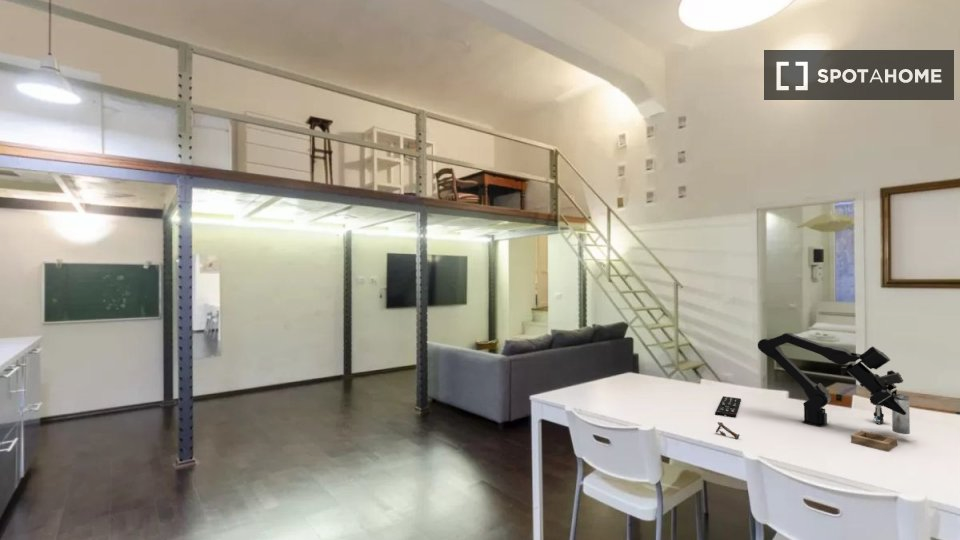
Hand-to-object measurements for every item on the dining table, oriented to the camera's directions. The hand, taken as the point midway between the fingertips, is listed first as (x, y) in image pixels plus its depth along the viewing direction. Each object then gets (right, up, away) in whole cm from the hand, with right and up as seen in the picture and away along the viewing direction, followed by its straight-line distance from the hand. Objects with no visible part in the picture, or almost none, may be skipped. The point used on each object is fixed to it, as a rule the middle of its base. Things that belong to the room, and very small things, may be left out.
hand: (905, 412), depth 160 cm
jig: (-14, -10, -3) cm, 17 cm away
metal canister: (-1, -7, +1) cm, 7 cm away
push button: (+8, -11, +20) cm, 24 cm away
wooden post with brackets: (-61, -11, +5) cm, 62 cm away
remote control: (-40, -12, +42) cm, 59 cm away
